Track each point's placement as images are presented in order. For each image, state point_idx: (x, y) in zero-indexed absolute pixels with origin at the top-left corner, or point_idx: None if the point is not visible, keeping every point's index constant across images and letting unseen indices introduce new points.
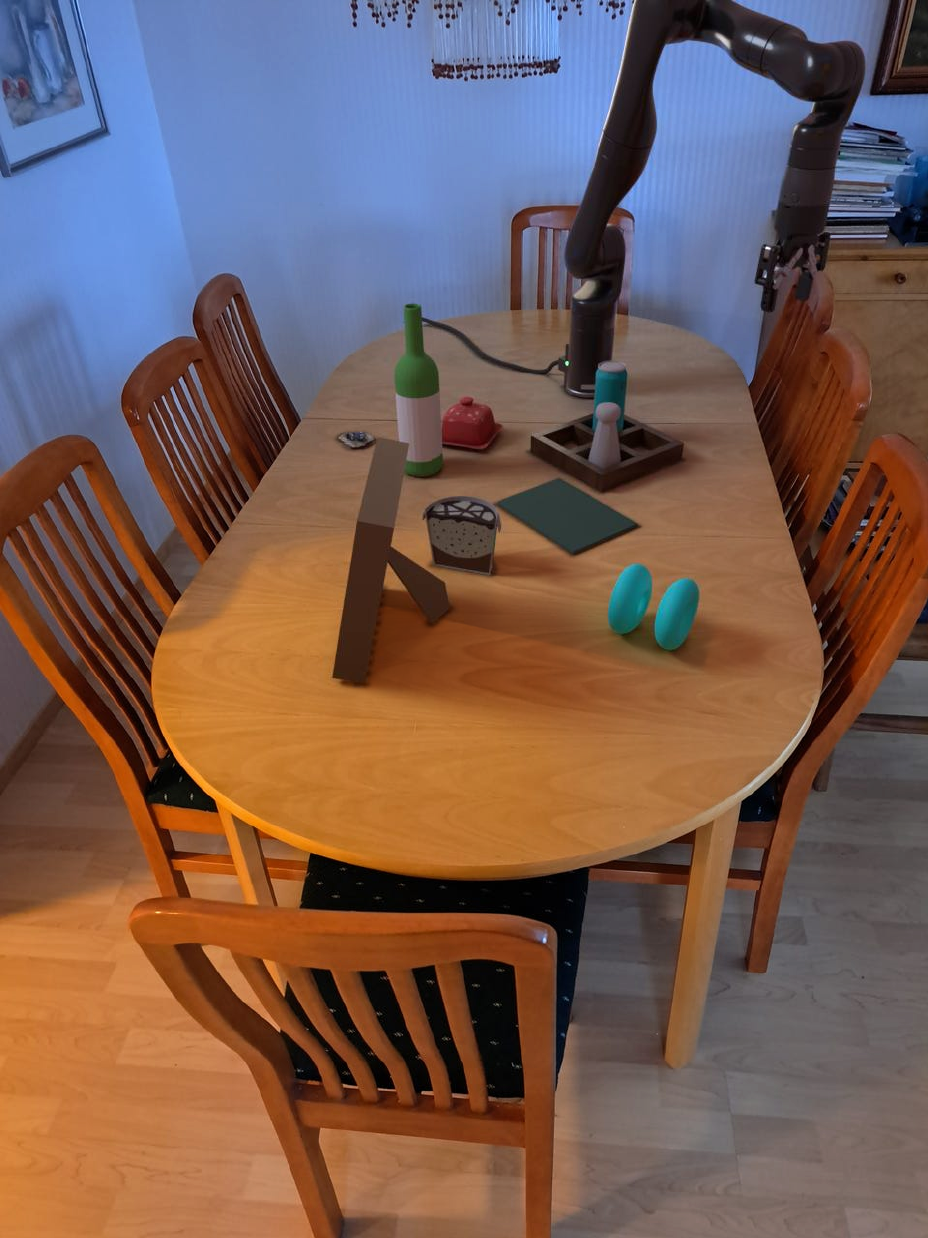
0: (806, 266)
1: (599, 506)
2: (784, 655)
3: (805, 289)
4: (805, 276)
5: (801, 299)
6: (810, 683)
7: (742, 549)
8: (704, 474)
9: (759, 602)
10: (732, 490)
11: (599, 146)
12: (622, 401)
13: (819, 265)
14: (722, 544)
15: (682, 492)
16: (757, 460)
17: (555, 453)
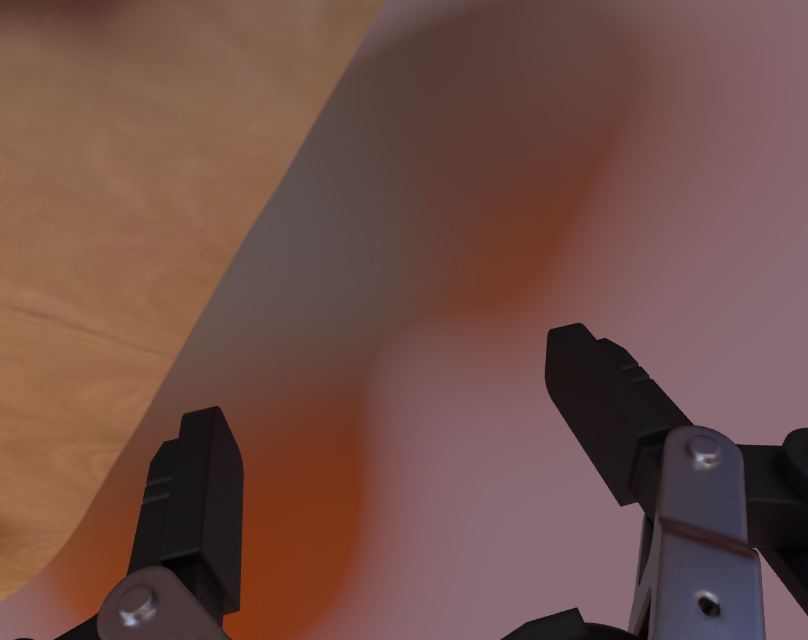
0: (637, 600)
1: None
2: (14, 550)
3: (580, 425)
4: (637, 474)
5: (549, 365)
6: (24, 582)
7: (77, 364)
8: (150, 67)
9: (33, 473)
10: (181, 176)
11: None
12: None
13: (767, 552)
14: (42, 340)
15: (35, 124)
16: (339, 75)
17: None
